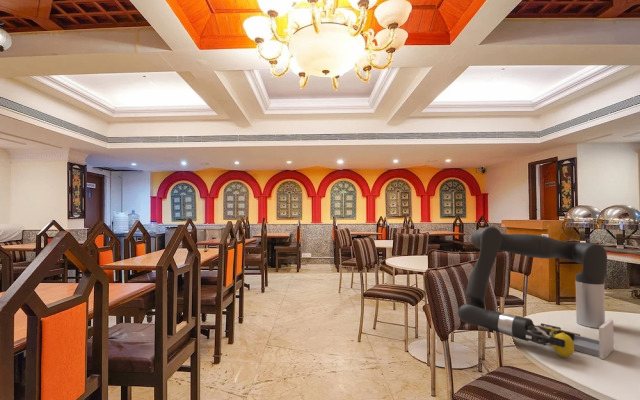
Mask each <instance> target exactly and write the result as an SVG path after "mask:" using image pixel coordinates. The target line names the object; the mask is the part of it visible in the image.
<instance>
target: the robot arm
mask: <svg viewBox="0 0 640 400" xmlns="http://www.w3.org/2000/svg"><path fill="white" fill-rule="evenodd" d="M470 241H471V243H472V245H473V246H474V247H475V248H476V249H478V250H479V253H478V254H479V255H478V258H477V260H476V262H475V265H474V267H473V268H472V270H471V273H470V274H469V278H468V283H467V286H466V291H465V296H466V297H467V299H468V304H462V305H461V306H460V307H459V308H458V309H457V316H458V317H459V319H460V321H462V322H464V324H465V323H466V324H469V325H472V326H478V327H483V328H485V329H487V330H491V331H493V332H496V333H497V332H498V333H500V334H503V335H506V336H508V337H512V338H516V339H519V340H522V341H526V342H532V343H535V344H538V345H543V346H547V345H548V344H553V345H556V346H560V347H565V340H563V339H559V338H555V336H556V335H557V334H559V333H565V334H566V335H568V336H569V337H571V339H572V340H575V334H573V333H574V332H573V333H570V332H571V331H569V332H566V331H567V330H564V331H562V330H563V329H562V328H561V327H560V326H557V325H556V326H555V325H550V324H545V323H540V324H538V325H535V324H534V321H533V320H532V319H531V318H528V317H525V316H524V317H523V316H519V315H515V314H511V313H506V312H505V313H504V312H499V311H495V310H489V309H486V303H485V302H486V301H485V298H486V294H487V290H488V284H489V280H490V276H491V273H492V268H493V266H494V264H495V260H496V258H497V255H498V254H499V253H498V252H507V253H511V254H515V255H518V256H519V255H520V256H526V257H530V258H537V259H561V260H566V261H570V262H573V263H578V264H580V265H582V271H580V272H578V273H575V307H576V308H575V309H576V311H575V312H576V313H575V315H576V316H575V317H576V319H575V320H576V322H575V323H577V324H578V323H579V325H582V326H584V327H588V328H594V329H595V328H598V329H599V327H600V326H601V325H602V324H604V323H605V322H606V308H605V307H606V306H605V305H606V303H605V302H606V300H605V297H606V295H605V279H606V277H607V272H608V254H607V251H606V249H605V247H604V246H602V245H601V244H598V243H592V242H587V241H586V242H585V241H584V242H583V241H563V240H558V239H555V238H552V237H549V236H544V235H537V234H529V233H523V234H522V233H516V234H515V233H513V234H509V233H507V234H506V233H502V232H501V231H500V230H499V229H498V228H497V227H494V226H487V227H481V228H478V229H476V230H475V231H474V232H472V234H471V238H470ZM554 331H557V332H554ZM538 340H539V341H538Z"/></svg>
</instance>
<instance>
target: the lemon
mask: <svg viewBox="0 0 640 400" xmlns="http://www.w3.org/2000/svg"><path fill="white" fill-rule="evenodd" d="M555 338H559V339H563V340H565V347H560V346H556V345H553V346H552V347H553V350H554V351H555V353H557V354H558V355H559V356H560V357H562V358H563V359H565V358H567V357H570V356H573V354H574V352H575V350H574V343H573V340H572V339H571V337H569V336H568V335H566V334H565V333H559V334H557V335H556V336H555Z"/></svg>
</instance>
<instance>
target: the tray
mask: <svg viewBox="0 0 640 400" xmlns="http://www.w3.org/2000/svg"><path fill="white" fill-rule="evenodd" d="M614 336H615V335H614V319H611V318H609V319H608V320H605V323H604V324H602V325H601V326H600V327H599V328H598V339H596V338H591V337H587V336H583V335H582V336H581V335H580V336H579V335H575V340H573V343H574V351H577V352H580V353H584V354H588V355H590V356H595V357H598V358H599V359H600V360H605V359H606V358H607V356H609V355H610V353H611V352H612V351H614V350H615V341H614V340H615V339H614Z"/></svg>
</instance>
